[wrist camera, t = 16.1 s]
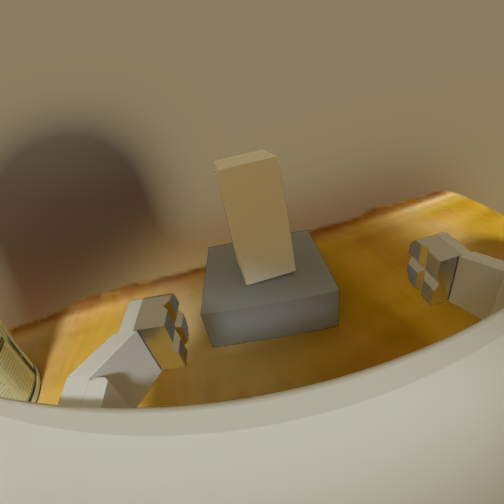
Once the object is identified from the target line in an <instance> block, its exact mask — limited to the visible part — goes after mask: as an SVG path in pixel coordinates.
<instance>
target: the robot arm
mask: <svg viewBox="0 0 504 504" xmlns="http://www.w3.org/2000/svg"><path fill="white" fill-rule="evenodd" d="M409 252H410V254H411V256H412V257H411V259H410V261H409V262H408V268H407V272H408V277H409V280H410V282H411V284H412V285H413V286H414V287H415V288H417V289H420V290H421V296H422V297H423V298H424V299H425V300H426V302H427V303H428V304H429V305H430V306H433V305H436V304H439V303H442V302H444V301H447V300H448V301H449V302H451V303H452V304H454V305H456V306H458V307H460V308H462V309H463V310H465V311H467V312H469V313H471V314H472V315H474V316H476V317H478V318H479V319H481V321H479V322H477V323H475V324H473V325H471V326H469V327H467V328H465V329H463V330H461V331H459V332H457V333H455V334H453V335H451V336H449V337H446V338H444V339H442V340H440V341H437V342H435V343H433V344H431V345H428V346H426V347H424V348H421V349H419V350H416V351H414V352H411V353H409V354H406V355H404V356H401V357H398V358H396V359H393V360H390V361H387V362H385V363H382V364H379V365H376V366H373V367H370V368H367V369H364V370H361V371H357V372H354V373H351V374H348V375H344V376H341V377H337V378H334V379H330V380H327V381H323V382H319V383H315V384H311V385H307V386H303V387H299V388H294V389H290V390H285V391H280V392H275V393H270V394H265V395H260V396H254V397H248V398H242V399H235V400H229V401H221V402H213V403H205V404H195V405H184V406H171V407H152V408H137V406H138V405H139V403H140V402H141V401H142V399H143V398H144V396H145V395H146V393H147V392H148V390H149V389H150V388H151V386H152V385H153V383H154V382H155V380H156V379H157V377H158V376H159V375H160V373H161V372H162V371H161V370H165V369H172V368H179V367H186V359H187V349H186V347H185V344H186V343H187V341H188V335H189V334H188V326H187V322H186V319H185V316H184V314H183V313H182V312H180V311H179V310H178V306H179V302H178V300H177V298H176V296H175V295H174V294H173V293H171V294H165V295H158V296H152V297H146V298H140V299H135V300H131V301H130V302H129V304H128V307H127V309H126V312H125V315H124V318H123V320H122V323H121V326H120V329H119V332H118V333H114V334H113V335H112V336H111V337H110V338H109V339H108V340H107V341H105V342H104V343H103V344H102V345H101V346H100V347H99V348H98V349H97V350H96V351H95V352H94V353H92V354H91V355H90V356H89V357H88V358H87V359H86V360H85V361H84V362H83V363H82V364H81V365H80V366H79V367H78V368H77V369H75V370H74V371H73V372H72V373H71V374H70V375H69V376H68V378H67V380H66V383H65V386H64V388H63V391H62V394H61V397H60V400H59V403H58V405H52V404H43V403H35V402H28V401H22V400H16V399H10V398H5V397H0V504H504V261H503V260H500V259H497V258H494V257H491V256H488V255H485V254H481V253H478V252H475V251H473V252H471V251H470V250H468V249H467V248H466V247H465V246H463V245H462V244H461V243H460V242H458V241H457V240H456V239H454V238H453V237H452V236H450V235H449V234H448V233H445V232H442V233H439V234H436V235H433V236H430V237H426V238H423V239H419V240H415V241H412V243H411V245H410V251H409Z"/></svg>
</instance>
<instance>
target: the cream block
mask: <svg viewBox="0 0 504 504" xmlns="http://www.w3.org/2000/svg"><path fill="white" fill-rule="evenodd" d="M213 164H214V168H215V172H216V177H217V181H218V185H219V189H220V193H221V197H222V201H223V205H224V209H225V213H226V217H227V221H228V225H229V229H230V233H231V237H232V241H233V245H234V249H235V253H236V257H237V261H238V264H239V267H240V269H241V272H242V275H243V277H244V280H245V283H246V285H250V284H254V283H257V282H260V281H264V280H267V279H271V278H274V277H277V276H281V275H284V274H287V273H291V272H294V271H296V269H295V261H294V254H293V247H292V240H291V233H290V226H289V220H288V213H287V206H286V200H285V194H284V188H283V182H282V176H281V170H280V164H279V158H278V156H276V155H274V154H271V153H270V152H267V151H265V150H259V151H254V152H249V153H245V154H241V155H236V156H233V157H228V158H224V159H220V160H216V161H213Z"/></svg>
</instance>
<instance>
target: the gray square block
mask: <svg viewBox="0 0 504 504" xmlns="http://www.w3.org/2000/svg"><path fill="white" fill-rule="evenodd" d="M291 240H292V247H293V254H294V261H295V269H296V271H294V272H291V273H287V274H284V275H281V276H277V277H274V278H271V279H267V280H264V281H260V282H257V283H254V284H250V285H246V283H245V280H244V277H243V275H242V272H241V269H240V267H239V264H238V261H237V257H236V253H235V249H234V245H233V243H230V244H224V245H218V246H213V247H209V250H208V259H207V265H206V273H205V281H204V289H203V298H202V306H201V317H202V320H203V323H204V325H205V328H206V330H207V333H208V336H209V338H210V341H211V343H212V346H213V347H220V346H227V345H235V344H241V343H248V342H255V341H261V340H267V339H273V338H279V337H284V336H290V335H295V334H300V333H305V332H310V331H315V330H320V329H325V328H329V327H334V326H338V322H339V295H340V290H339V288H338V286H337V284H336V282H335V280H334V278H333V276H332V274H331V272H330V270H329V269H328V267H327V265H326V263H325V261H324V259H323V257H322V255H321V253H320V251H319V249H318V248H317V246H316V244H315V242H314V240H313V238H312V236H311V235H310V233H309V231H308V230H304V231H298V232H292V233H291Z"/></svg>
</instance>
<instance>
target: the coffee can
mask: <svg viewBox="0 0 504 504" xmlns="http://www.w3.org/2000/svg"><path fill="white" fill-rule="evenodd" d="M40 383H41V381H40V374H39V371H38V368H37V367H36V365H35V364H34V363H33V362H31V360H30V359H29V358H28V357H27V356H26V354H25V353H24V352H23V351H22V349H21V348H20V347H19V345H18V344H17V342H16V341H15V340H14V338H13V337H12V336H11V334H10V333H9V332H8V330H7V329H6V327H5V326H4V324H3V323H2V321H1V320H0V397H5V398H10V399H16V400H22V401H28V402H35V403H36V401H37V399H38V396H39V390H40Z"/></svg>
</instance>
